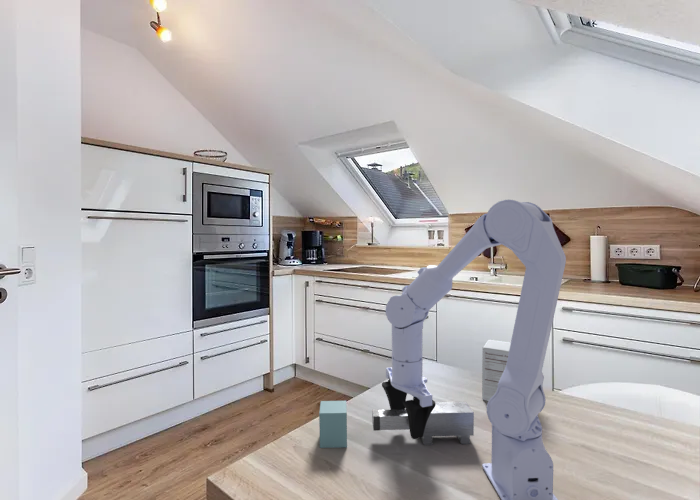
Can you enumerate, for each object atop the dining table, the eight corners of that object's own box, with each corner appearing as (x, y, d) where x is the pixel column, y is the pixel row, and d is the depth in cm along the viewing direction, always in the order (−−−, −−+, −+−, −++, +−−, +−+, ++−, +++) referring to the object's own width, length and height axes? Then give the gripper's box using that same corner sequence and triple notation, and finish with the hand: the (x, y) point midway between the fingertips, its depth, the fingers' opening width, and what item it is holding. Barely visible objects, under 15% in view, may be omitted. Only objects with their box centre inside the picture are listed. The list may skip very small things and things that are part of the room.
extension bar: (464, 428, 72) (464, 414, 72) (373, 430, 72) (373, 416, 72) (459, 421, 75) (459, 408, 75) (372, 423, 75) (372, 409, 75)
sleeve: (473, 443, 72) (473, 412, 71) (419, 444, 72) (419, 413, 71) (465, 431, 76) (466, 401, 76) (415, 432, 76) (415, 402, 76)
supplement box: (487, 388, 96) (488, 338, 95) (519, 394, 92) (520, 342, 92) (481, 400, 90) (481, 346, 89) (515, 407, 86) (516, 351, 85)
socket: (347, 447, 71) (346, 412, 71) (319, 447, 71) (319, 413, 71) (346, 432, 76) (346, 400, 76) (321, 433, 76) (320, 401, 76)
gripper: (447, 367, 67) (447, 442, 68) (407, 344, 81) (407, 407, 82) (411, 373, 65) (411, 451, 66) (376, 348, 79) (376, 413, 79)
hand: (407, 427), depth 74 cm, fingers open, 7 cm apart
